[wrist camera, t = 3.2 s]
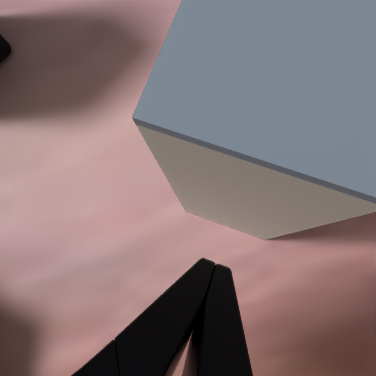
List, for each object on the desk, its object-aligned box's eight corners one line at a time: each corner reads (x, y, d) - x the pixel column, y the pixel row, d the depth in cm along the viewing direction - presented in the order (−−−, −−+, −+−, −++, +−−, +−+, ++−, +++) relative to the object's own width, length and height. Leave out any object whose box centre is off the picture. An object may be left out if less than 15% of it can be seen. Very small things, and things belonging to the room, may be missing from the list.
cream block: (264, 239, 17) (400, 205, 5) (185, 211, 17) (132, 117, 5) (289, 162, 18) (461, -33, 6) (213, 137, 18) (219, -87, 6)
